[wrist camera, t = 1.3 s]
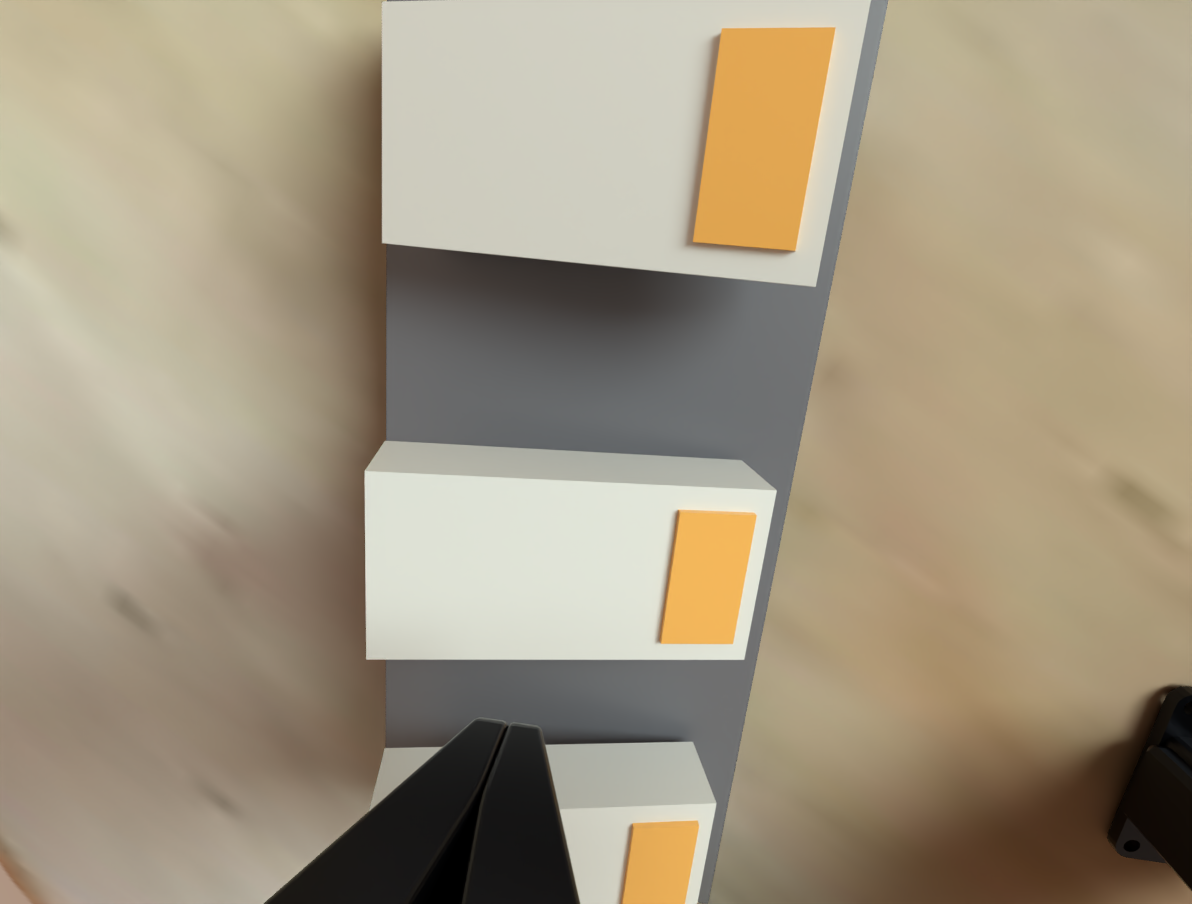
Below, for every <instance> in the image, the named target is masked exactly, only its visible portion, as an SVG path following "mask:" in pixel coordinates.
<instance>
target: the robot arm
mask: <svg viewBox="0 0 1192 904" xmlns="http://www.w3.org/2000/svg"><path fill="white" fill-rule="evenodd" d="M1189 702H1190V703H1189ZM1187 703H1189V704H1188V705H1186V704H1187ZM1185 705H1186V706H1185ZM1107 839H1108V841H1109V843H1110V844H1111V845H1112V846H1113V848H1114V849H1115V850H1116V851H1117V853H1119V854H1120V855H1121V856H1124V857H1128V858H1134V859H1141V860H1147V861H1154V862H1161V863H1167V864H1168V865H1169V866H1170V867H1171V868H1172V869H1173V870H1174V871H1175V873H1176V874H1177V875H1178V876H1179V877H1180V878H1181V879H1182V881H1183V882H1184V883H1185V884H1186V885H1187V886H1188V888H1189V889H1190V890H1191V891H1192V687H1188V686H1186V687H1179V688H1176V689H1174V690H1172V691H1171V692H1169V694H1168V695H1167V696H1166V698H1165V700H1164V703H1163V705H1162V707H1161V710H1160V712H1159V714H1158V717H1157V719H1156V722H1155V724H1154V726H1153V729H1152V731H1151V733H1150V736H1149V738H1148V740H1147V743H1146V745H1145V747H1144V750H1143V752H1142V754H1141V757H1140V759H1139V761H1138V764H1137V766H1136V768H1135V771H1134V773H1133V775H1132V778H1131V780H1130V782H1129V785H1128V787H1127V790H1126V792H1125V794H1124V797H1123V799H1122V801H1121V804H1120V806H1119V808H1118V811H1117V813H1116V815H1115V818H1114V820H1113V822H1112V825H1111V827H1110V829H1109V832H1108V836H1107ZM264 904H580V900H579V895H578V891H577V886H576V882H575V877H574V873H573V868H572V864H571V859H570V855H569V850H568V846H567V841H566V836H565V832H564V827H563V823H562V818H561V814H560V809H559V805H558V800H557V796H556V791H555V787H554V782H553V777H552V773H551V768H550V764H549V759H548V755H547V750H546V746H545V741H544V737H543V732H542V730H541V728H540V727H539V726H537V725H530V724H524V723H517V722H513V723H511V724H510V725H509V726H508V724H507V723H506V722H505V721H503V720H496V719H489V718H483V717H479V718H476V719H474V720H473V721H472V722H470V723H469V724H468V725H467V726H466V727H465V728H464V729H463V730H461V731H460V732H459V733H458V734H457V735H456V736H455V737H453V738H452V739H451V740H450V741H449V742H448V743H447V744H445V745H444V746H443V747H442V748H441V749H440V750H439V751H437V752H436V753H435V754H434V755H433V756H432V757H431V758H429V759H428V760H427V761H426V762H425V763H424V764H423V765H421V766H420V767H419V768H418V769H417V770H416V771H415V772H413V773H412V774H411V775H410V776H409V777H408V778H407V779H405V780H404V781H403V782H402V783H401V784H400V785H399V786H397V787H396V788H395V789H394V790H393V791H392V792H391V793H389V794H388V795H387V796H386V797H385V798H384V799H383V800H381V801H380V802H379V803H378V804H377V805H376V806H375V807H373V808H372V809H371V810H370V811H369V812H368V813H367V814H365V815H364V816H363V817H362V818H361V819H360V820H359V821H357V822H356V823H355V824H354V825H353V826H352V827H351V828H349V829H348V830H347V831H346V832H345V833H344V834H343V835H341V836H340V837H339V838H338V839H337V840H336V841H335V842H333V843H332V844H331V845H330V846H329V847H328V848H327V849H325V850H324V851H323V852H322V853H321V854H320V855H319V856H317V857H316V858H315V859H314V860H313V861H312V862H311V863H309V864H308V865H307V866H306V867H305V868H304V869H303V870H301V871H300V872H299V873H298V874H297V875H296V876H295V877H293V878H292V879H291V880H290V881H289V882H288V883H287V884H285V885H284V886H283V887H282V888H281V889H280V890H279V891H277V892H276V893H275V894H274V895H273V896H272V897H271V898H269V899H268V900H267V901H266V902H265V903H264Z"/></svg>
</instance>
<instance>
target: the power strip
mask: <svg viewBox="0 0 1192 904" xmlns="http://www.w3.org/2000/svg"><path fill="white" fill-rule="evenodd" d="M387 1H427V0H387ZM887 4H888V0H871V3H870V8H869V13H868V18H867V23H866V29H865V34H864V39H863V44H862V49H861V55H860V60H859V65H858V70H857V75H856V81H855V86H854V91H853V96H852V101H851V107H850V112H849V117H848V122H847V127H846V132H845V138H844V143H843V148H842V153H841V158H840V164H839V169H838V174H837V179H836V184H835V190H834V195H833V200H832V205H831V210H830V216H829V221H828V226H827V231H826V236H825V241H824V247H823V252H822V257H821V262H820V267H819V273H818V278H817V283H816V287H807V286H797V285H788V284H778V283H768V282H758V281H748V280H738V279H728V278H718V277H708V276H699V275H689V274H679V273H669V272H659V271H649V270H639V269H629V268H619V267H610V266H600V265H590V264H580V263H570V262H560V261H550V260H540V259H530V258H521V257H511V256H501V255H491V254H481V253H471V252H461V251H451V250H441V249H432V248H423V247H414V246H405V245H395V244H387V291H386V441H401V442H420V443H438V444H456V445H474V446H493V447H511V448H529V449H548V450H566V451H584V452H603V453H621V454H639V455H657V456H676V457H694V458H712V459H731V460H742V461H743V462H744V463H746V464H747V465H748V466H749V467H750V468H751V469H753V470H754V471H755V472H756V473H757V474H758V475H760V476H761V477H762V478H763V479H764V480H765V481H766V482H768V483H769V484H770V485H771V486H772V487H773V488H775V489H776V490H777V492H776V498H775V503H774V508H773V513H772V518H771V524H770V529H769V534H768V539H767V544H766V550H765V555H764V560H763V565H762V570H761V575H760V581H759V586H758V591H757V596H756V601H755V607H754V612H753V617H752V622H751V627H750V632H749V638H748V643H747V648H746V653H745V658H744V660H386V748H414V747H443V746H444V745H445V744H447V743H448V742H449V741H450V740H451V739H452V738H453V737H455V736H456V735H457V734H458V733H459V732H460V731H461V730H463V729H464V728H465V727H466V726H467V725H468V724H469V723H470V722H472V721H473V720H474V719H476V718H479V717H483V718H489V719H496V720H503V721H505V722H506V723H507V724H508V726H509V725H510V724H511V723H513V722H517V723H524V724H530V725H537V726H539V727H540V728H541V730H542V732H543V737H544V741H545V745H558V744H606V743H654V742H693V743H694V746H695V749H696V751H697V754H698V756H699V759H700V762H701V764H702V767H703V769H704V772H705V775H706V777H707V780H708V782H709V785H710V788H711V790H712V793H713V795H714V798H715V801H716V803H717V804H716V809H715V814H714V819H713V824H712V830H711V835H710V840H709V845H708V850H707V855H706V861H705V866H704V871H703V876H702V881H701V887H700V892H699V897H698V902H699V903H706V904H708V901H709V896H710V891H711V886H712V881H713V876H714V871H715V866H716V861H717V856H718V851H719V846H720V841H721V836H722V831H723V826H724V821H725V816H726V811H727V806H728V801H729V796H730V791H731V786H732V781H733V776H734V771H735V766H736V761H737V756H738V751H739V746H740V741H741V736H742V731H743V726H744V721H745V716H746V711H747V706H748V701H749V696H750V691H751V686H752V681H753V676H754V671H755V666H756V661H757V656H758V651H759V646H760V641H761V636H762V631H763V626H764V621H765V616H766V611H767V606H768V601H769V596H770V591H771V586H772V581H773V576H774V571H775V566H776V561H777V556H778V551H779V546H780V541H781V535H782V530H783V525H784V520H785V515H786V510H787V505H788V500H789V495H790V490H791V485H792V480H793V475H794V470H795V465H796V460H797V455H798V450H799V445H800V440H801V435H802V430H803V425H804V420H805V415H806V410H807V405H808V400H809V395H810V390H811V385H812V380H813V375H814V370H815V365H816V360H817V355H818V350H819V345H820V340H821V335H822V330H823V325H824V320H825V315H826V310H827V305H828V300H829V295H830V290H831V285H832V280H833V275H834V270H835V265H836V260H837V255H838V250H839V245H840V240H841V235H842V230H843V225H844V220H845V215H846V210H847V205H848V200H849V195H850V190H851V185H852V180H853V175H854V170H855V165H856V160H857V155H858V150H859V145H860V140H861V135H862V129H863V124H864V119H865V114H866V109H867V104H868V99H869V94H870V89H871V84H872V79H873V74H874V69H875V64H876V59H877V54H878V49H879V44H880V39H881V34H882V29H883V24H884V19H885V14H886V9H887Z"/></svg>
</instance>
